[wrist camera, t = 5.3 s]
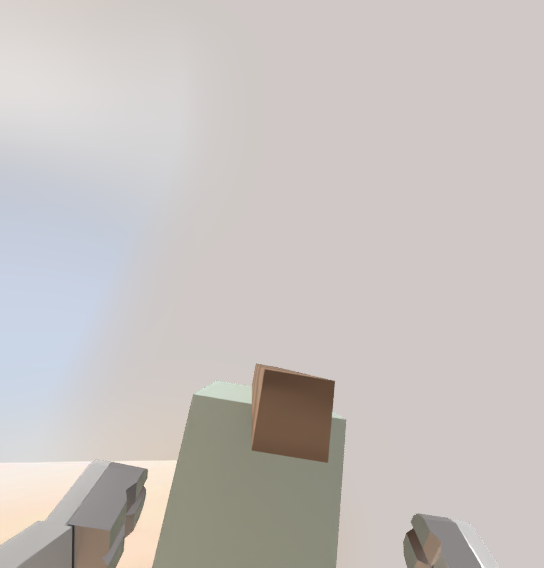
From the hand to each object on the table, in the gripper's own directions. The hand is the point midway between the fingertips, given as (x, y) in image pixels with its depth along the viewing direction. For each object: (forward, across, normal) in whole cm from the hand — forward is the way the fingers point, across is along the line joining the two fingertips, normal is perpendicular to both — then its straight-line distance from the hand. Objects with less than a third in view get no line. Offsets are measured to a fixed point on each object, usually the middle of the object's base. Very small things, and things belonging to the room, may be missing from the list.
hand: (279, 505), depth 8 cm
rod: (+10, 0, +4) cm, 11 cm away
